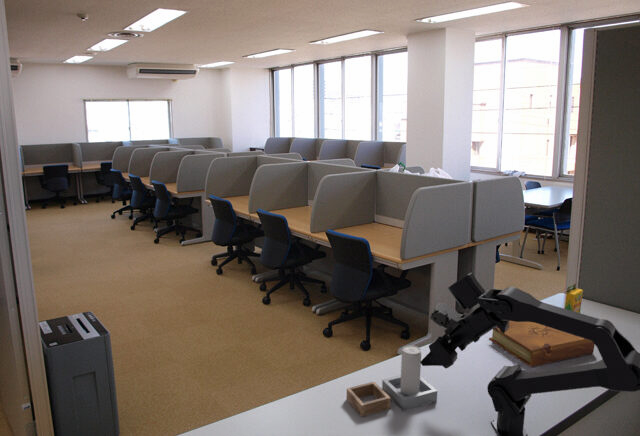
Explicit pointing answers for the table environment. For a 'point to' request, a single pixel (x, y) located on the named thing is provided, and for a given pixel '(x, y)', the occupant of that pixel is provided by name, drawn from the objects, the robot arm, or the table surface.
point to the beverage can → (410, 370)
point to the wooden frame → (371, 406)
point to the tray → (408, 402)
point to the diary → (540, 343)
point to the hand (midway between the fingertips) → (428, 355)
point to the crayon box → (573, 299)
